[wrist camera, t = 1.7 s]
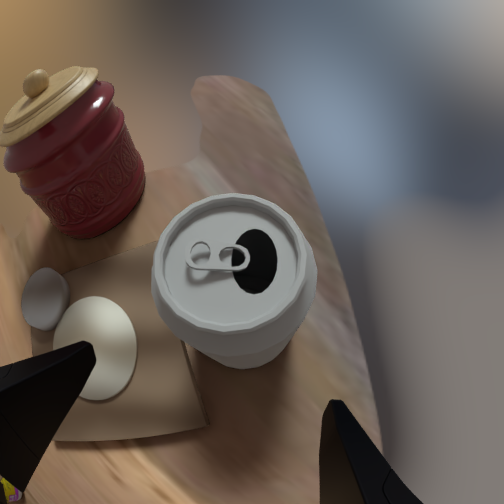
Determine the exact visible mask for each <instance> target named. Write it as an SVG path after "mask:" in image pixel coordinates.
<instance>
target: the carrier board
mask: <svg viewBox="0 0 504 504" xmlns="http://www.w3.org/2000/svg"><path fill="white" fill-rule="evenodd" d="M158 241H159V240H158ZM158 241H155V242H152V243H149V244H146V245H143V246H140V247H137V248H134V249H131V250H128V251H125V252H122V253H119V254H117V255H114V256H111V257H108V258H105V259H102V260H99V261H97V262H94V263H91V264H88V265H86V266H83V267H80V268H77V269H75V270H72V271H69V272H67V273H64V274H61V275H60V274H59V273H57V272H56V271H55V270H53V269H51V268H47V267H46V268H41V269H39V270H37V271H36V272H35V273H34V274H33V275H32V276H31V277H30V278H29V280H28V282H27V283H26V285H25V288H24V291H23V295H22V302H21V307H22V313H23V316H24V318H25V320H26V322H27V323H28V324H29V325H31V340H32V353H33V357H34V356H37V355H40V354H43V353H46V352H50V351H53V350H56V349H59V348H62V347H65V346H68V345H71V344H74V343H76V342H79V341H83V340H84V341H87V342H89V343H91V344H92V345H93V348H94V351H95V355H96V365H95V367H94V368H93V370H92V372H91V374H90V376H89V378H88V380H87V382H86V384H85V386H84V388H83V390H82V392H81V393H80V395H79V397H78V398H77V400H76V401H75V403H74V404H73V406H72V408H71V409H70V411H69V412H68V414H67V416H66V417H65V419H64V420H63V422H62V424H61V425H60V427H59V429H58V430H57V432H56V434H55V435H54V437H53V439H52V440H54V441H105V440H121V439H132V438H142V437H150V436H157V435H164V434H170V433H176V432H182V431H187V430H192V429H197V428H201V427H206V426H208V425H209V424H210V423H209V420H208V417H207V414H206V411H205V408H204V405H203V402H202V399H201V396H200V393H199V390H198V387H197V384H196V381H195V377H194V374H193V371H192V367H191V364H190V361H189V357H188V354H187V350H186V346H185V343H184V341H182V340H181V339H179V338H178V337H176V336H175V335H174V334H173V332H172V331H171V330H170V329H169V328H168V326H167V325H166V324H165V323H164V321H163V320H162V319H161V317H160V316H159V314H158V311H157V308H156V305H155V302H154V299H153V296H152V293H151V278H152V266H153V257H154V252H155V249H156V247H157V244H158Z"/></svg>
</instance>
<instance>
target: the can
mask: <svg viewBox="0 0 504 504" xmlns="http://www.w3.org/2000/svg"><path fill="white" fill-rule="evenodd" d="M316 281H317V267H316V263H315V259H314V256H313V252H312V248H311V246H310V245H309V243H308V242H307V240H306V239H305V237H304V235H303V233H302V232H301V230H300V229H299V227H298V226H297V224H296V223H295V221H294V220H293V219H292V217H291V216H290V215H289V214H287V213H286V212H285V211H283V210H282V209H281V208H280V207H278V206H277V205H276V204H274V203H272V202H270V201H267V200H264V199H262V198H259V197H257V196H254V195H246V194H237V193H230V194H222V195H215V196H210V197H208V198H205V199H203V200H200V201H198V202H196V203H193V204H191V205H190V206H188V207H187V208H186V209H184V210H183V211H182V212H180V213H179V214H178V215H176V216H175V217H174V218H173V219H172V221H171V222H170V223H169V224H168V226H167V227H166V228H165V230H164V231H163V232H162V234H161V236H160V238H159V241H158V244H157V247H156V249H155V252H154V257H153V266H152V278H151V293H152V296H153V299H154V302H155V305H156V308H157V311H158V314H159V316H160V317H161V319H162V320H163V321H164V323H165V324H166V325H167V326H168V328H169V329H170V330H171V331H172V332H173V334H174V335H175V336H176V337H178V338H179V339H181V340H182V341H184V342H185V343H187V344H189V345H190V346H192V347H194V348H195V349H197V350H199V351H200V352H202V353H204V354H205V355H207V356H209V357H210V358H212V359H214V360H216V361H218V362H219V363H221V364H223V365H225V366H227V367H232V368H238V369H248V368H255V367H259V366H261V365H264V364H266V363H268V362H270V361H272V360H273V359H274V358H275V357H276V356H277V355H278V354H279V353H280V352H281V351H282V350H283V349H284V348H285V347H286V345H287V344H288V342H289V341H290V339H291V338H292V337H293V335H294V334H295V332H296V331H297V329H298V328H299V326H300V325H301V323H302V322H303V320H304V319H305V316H306V314H307V312H308V310H309V308H310V306H311V304H312V301H313V299H314V297H315V292H316Z"/></svg>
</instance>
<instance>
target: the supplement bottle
mask: <svg viewBox="0 0 504 504" xmlns="http://www.w3.org/2000/svg"><path fill="white" fill-rule="evenodd" d="M1 482H2V483H3V486H4V491H5V496H6V500H7V503H8V502H13V501H17V500H19V499H20V498H21V497H22V492H20V491H19V490H18V489H16V488H15V487H14V486H13V485H11V484H10V483H9V482H8V481H7V480H5V479H4V478H3V479H2V480H1Z"/></svg>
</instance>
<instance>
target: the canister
mask: <svg viewBox="0 0 504 504" xmlns="http://www.w3.org/2000/svg"><path fill="white" fill-rule="evenodd" d="M98 75H99V72H98V70H97V69H96V68H81V67H79V66H74V67H71V68H67V69H65V70H63V71H60V72H58V73H56V74H54V75H52V76H51V77H49V76H48V74H47V73H46V72H45V71H44V70H41V69H37V70H35V71H33V72H31V73H30V74H29V75H28V76H27V77H26V78H25V80H24V83H23V91H24V93H25V95H24V96H23V97H22V98H21V99H20V100H19V101H18V102H17V103H16V104H15V105H14V106H13V108H12V109H11V110H10V111H9V113H8V114H7V116H6V117H5V119H4V125H3V128H2V130H1V133H0V146H1V147H6V152H5V156H4V167H5V169H6V170H7V171H8V172H11V173H16V174H17V175H18V177H19V178H20V186H21V188H22V190H23V191H24V192H25V194H27V195H29V196H30V197H31V198H32V199H33V200H34V201H35V203H36V204H37V205H38V206H39V207H40V208H41V209H42V211H43V212H44V213H45V214H46V215H47V216H48V217H49V219H50V221H51V222H52V224H53V225H54V226H55V227H56V228H57V229H58V230H59V231H61V232H62V233H65V234H66V235H68V236H70V237H72V238H76V239H87V238H92V237H95V236H98V235H100V234H102V233H104V232H106V231H108V230H110V229H111V228H113V227H114V226H115V225H117V224H118V223H119V222H120V221H122V220H123V219H124V218H125V217H126V216H127V215H128V214H129V213H130V211H131V210H132V209H133V208H134V206H135V205H136V203H137V202H138V200H139V198H140V196H141V194H142V192H143V189H144V185H145V172H144V165H143V161H142V159H141V156H140V154H139V152H138V151H137V150H136V148H135V146H134V144H133V141H132V139H131V136H130V134H129V131H128V129H127V126H126V124H125V121H124V114H123V112H122V110H120V108H118V107H116V106H115V105H114V103H113V101H112V98H113V96H114V87H113V85H112V84H111V83H108V82H105V81H98V80H97V78H98Z"/></svg>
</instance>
